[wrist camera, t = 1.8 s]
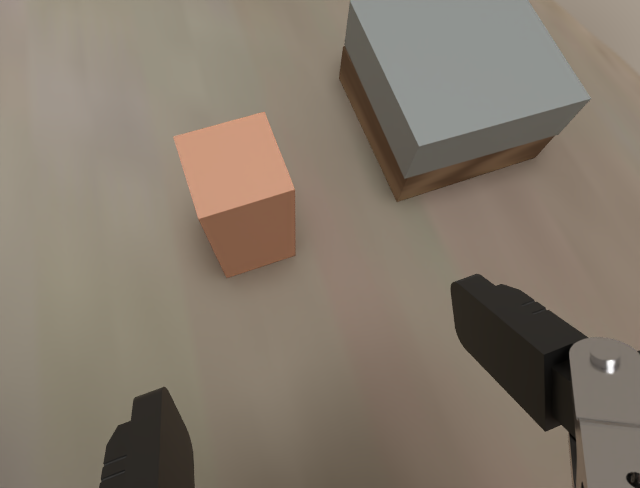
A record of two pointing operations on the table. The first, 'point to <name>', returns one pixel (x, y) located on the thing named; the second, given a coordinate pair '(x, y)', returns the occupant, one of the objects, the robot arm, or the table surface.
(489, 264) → the table surface
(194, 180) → the terracotta block
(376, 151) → the walnut slab
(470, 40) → the slate-grey slab
